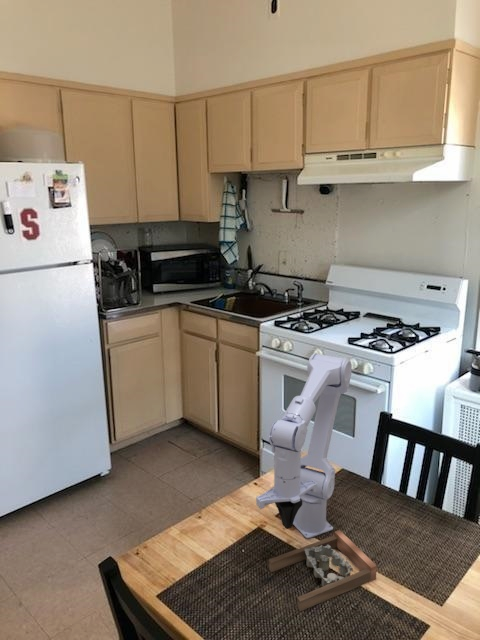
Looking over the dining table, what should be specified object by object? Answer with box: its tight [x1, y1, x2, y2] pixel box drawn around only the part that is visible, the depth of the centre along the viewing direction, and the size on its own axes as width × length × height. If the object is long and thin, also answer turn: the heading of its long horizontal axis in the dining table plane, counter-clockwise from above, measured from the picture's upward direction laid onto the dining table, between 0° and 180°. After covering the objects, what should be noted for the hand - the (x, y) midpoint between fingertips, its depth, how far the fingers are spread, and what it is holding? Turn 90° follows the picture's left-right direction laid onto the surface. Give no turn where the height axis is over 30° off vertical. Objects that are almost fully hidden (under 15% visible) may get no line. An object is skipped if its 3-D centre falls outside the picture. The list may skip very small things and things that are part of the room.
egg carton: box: [305, 544, 354, 587], centre depth 116 cm, size 11×8×4 cm
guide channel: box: [267, 529, 378, 612], centre depth 115 cm, size 13×20×4 cm
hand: (287, 525), depth 117 cm, fingers closed
